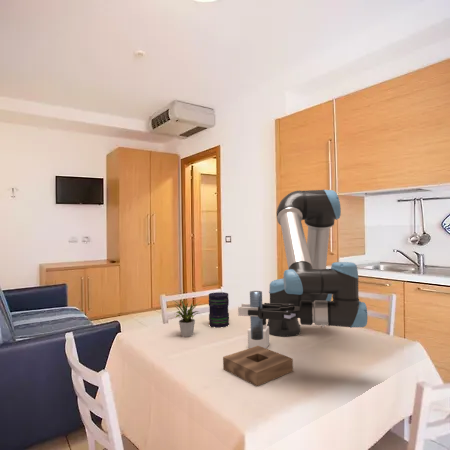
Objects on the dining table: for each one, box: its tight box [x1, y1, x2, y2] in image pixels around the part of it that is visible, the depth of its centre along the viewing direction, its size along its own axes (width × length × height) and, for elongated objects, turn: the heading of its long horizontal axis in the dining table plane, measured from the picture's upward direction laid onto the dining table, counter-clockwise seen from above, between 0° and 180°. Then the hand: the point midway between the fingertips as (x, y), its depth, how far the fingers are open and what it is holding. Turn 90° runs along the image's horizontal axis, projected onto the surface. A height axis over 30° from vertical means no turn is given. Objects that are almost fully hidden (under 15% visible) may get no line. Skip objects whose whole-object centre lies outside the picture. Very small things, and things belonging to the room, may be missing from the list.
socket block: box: [222, 346, 294, 387], centre depth 107 cm, size 16×16×4 cm
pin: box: [249, 290, 263, 340], centre depth 107 cm, size 4×4×15 cm
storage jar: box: [208, 291, 230, 329], centre depth 160 cm, size 10×10×15 cm
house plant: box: [172, 299, 202, 338], centre depth 146 cm, size 14×14×16 cm
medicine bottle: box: [247, 319, 270, 349], centre depth 130 cm, size 7×7×12 cm
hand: (240, 309), depth 109 cm, fingers closed on pin, 4 cm apart
